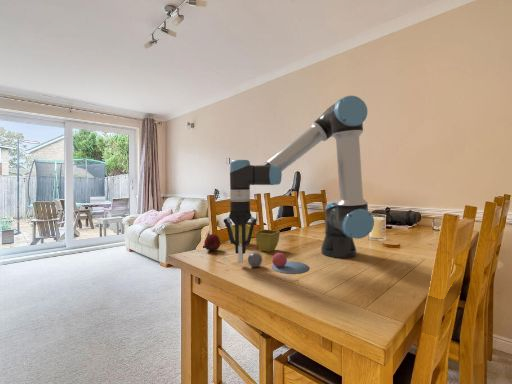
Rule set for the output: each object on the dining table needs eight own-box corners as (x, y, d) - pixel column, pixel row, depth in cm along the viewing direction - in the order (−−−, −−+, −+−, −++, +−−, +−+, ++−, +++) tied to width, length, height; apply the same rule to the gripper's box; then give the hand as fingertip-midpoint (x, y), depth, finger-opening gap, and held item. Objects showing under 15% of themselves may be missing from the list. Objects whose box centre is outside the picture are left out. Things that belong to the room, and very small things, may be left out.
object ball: (273, 265, 104) (287, 263, 104) (273, 270, 99) (288, 268, 99) (271, 252, 104) (285, 250, 104) (271, 256, 99) (285, 253, 98)
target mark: (306, 261, 108) (306, 261, 108) (311, 274, 94) (311, 273, 94) (271, 261, 109) (271, 260, 109) (271, 273, 95) (271, 272, 95)
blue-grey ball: (245, 255, 105) (253, 267, 105) (244, 259, 99) (252, 271, 99) (257, 248, 104) (265, 259, 104) (256, 252, 99) (264, 264, 99)
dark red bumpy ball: (223, 249, 128) (222, 232, 128) (216, 253, 121) (216, 236, 120) (208, 248, 130) (208, 232, 130) (201, 252, 123) (201, 235, 122)
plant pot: (232, 241, 143) (232, 223, 143) (251, 242, 142) (251, 224, 142) (228, 246, 133) (228, 227, 133) (249, 247, 132) (249, 227, 131)
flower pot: (280, 249, 127) (280, 230, 127) (271, 253, 120) (271, 234, 119) (264, 247, 132) (264, 229, 131) (254, 251, 124) (254, 232, 124)
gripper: (221, 201, 98) (222, 264, 99) (256, 201, 97) (257, 265, 98) (224, 199, 105) (225, 258, 106) (257, 199, 105) (258, 259, 106)
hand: (240, 261), depth 102 cm, fingers closed
